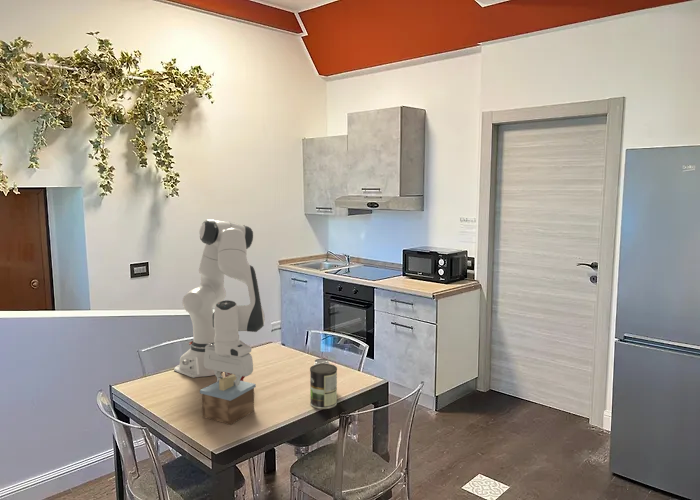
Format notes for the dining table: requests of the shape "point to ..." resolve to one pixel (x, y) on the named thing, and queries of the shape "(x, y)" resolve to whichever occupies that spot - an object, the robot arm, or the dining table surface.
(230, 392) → the lid
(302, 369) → the dining table surface
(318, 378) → the coffee can
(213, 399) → the box
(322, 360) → the can
